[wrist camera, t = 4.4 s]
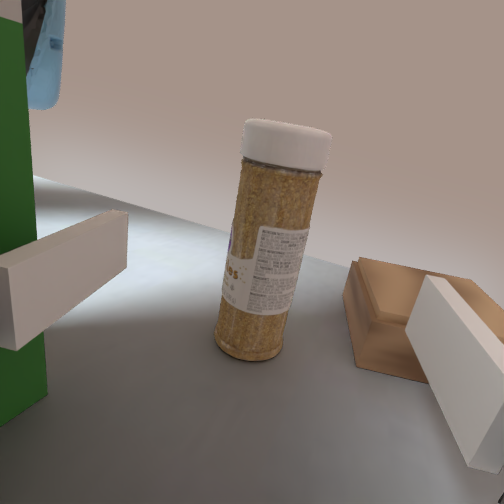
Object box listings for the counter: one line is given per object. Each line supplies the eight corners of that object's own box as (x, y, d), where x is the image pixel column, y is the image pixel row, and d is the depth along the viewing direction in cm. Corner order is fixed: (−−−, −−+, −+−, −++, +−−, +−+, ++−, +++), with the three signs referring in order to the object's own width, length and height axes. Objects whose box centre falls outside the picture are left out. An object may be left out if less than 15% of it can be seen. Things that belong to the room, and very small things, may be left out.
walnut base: (356, 366, 22) (374, 312, 20) (342, 295, 31) (354, 254, 30) (521, 405, 21) (553, 351, 19) (456, 319, 30) (474, 279, 29)
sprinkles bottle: (210, 321, 24) (238, 114, 19) (272, 322, 25) (314, 127, 20) (217, 366, 20) (255, 117, 15) (292, 365, 21) (350, 133, 16)
